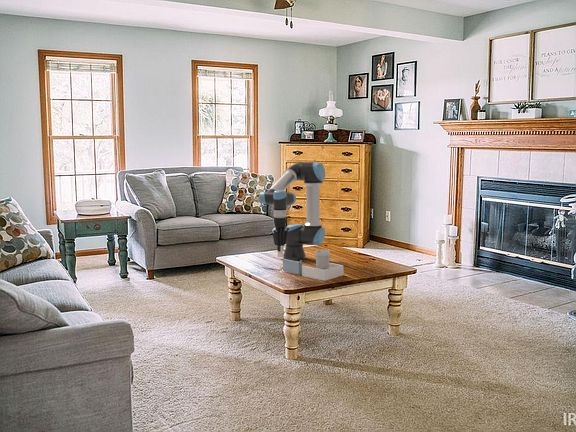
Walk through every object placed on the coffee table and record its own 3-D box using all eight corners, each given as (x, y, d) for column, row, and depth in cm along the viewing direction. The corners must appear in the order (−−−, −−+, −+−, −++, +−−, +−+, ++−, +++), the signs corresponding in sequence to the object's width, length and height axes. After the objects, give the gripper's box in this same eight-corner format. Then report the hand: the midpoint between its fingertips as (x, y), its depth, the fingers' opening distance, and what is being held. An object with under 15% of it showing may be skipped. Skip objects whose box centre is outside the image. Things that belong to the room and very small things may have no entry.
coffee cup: (313, 273, 340) (313, 249, 338) (329, 273, 341) (329, 248, 339) (315, 277, 331) (315, 252, 328) (332, 277, 331) (332, 252, 329)
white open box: (299, 275, 337) (299, 260, 335) (318, 270, 349) (318, 255, 348) (324, 280, 323) (324, 265, 322) (343, 275, 336) (343, 260, 335)
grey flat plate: (300, 274, 338) (300, 262, 337) (298, 274, 337) (298, 262, 336) (284, 270, 347) (284, 259, 346) (282, 271, 346) (282, 259, 345)
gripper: (276, 218, 325) (277, 259, 328) (292, 216, 334) (292, 255, 337) (267, 217, 330) (268, 257, 333) (283, 215, 339) (283, 254, 342)
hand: (280, 256), depth 335 cm, fingers closed
